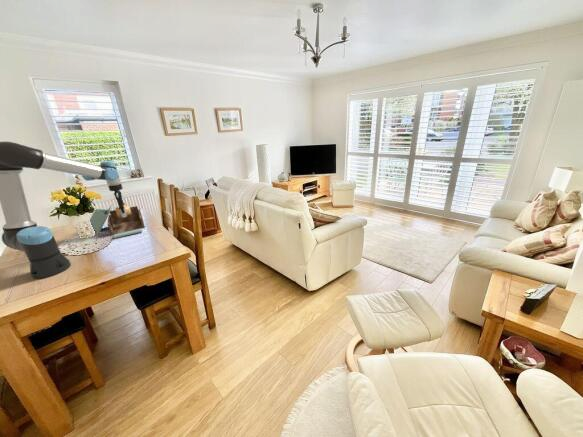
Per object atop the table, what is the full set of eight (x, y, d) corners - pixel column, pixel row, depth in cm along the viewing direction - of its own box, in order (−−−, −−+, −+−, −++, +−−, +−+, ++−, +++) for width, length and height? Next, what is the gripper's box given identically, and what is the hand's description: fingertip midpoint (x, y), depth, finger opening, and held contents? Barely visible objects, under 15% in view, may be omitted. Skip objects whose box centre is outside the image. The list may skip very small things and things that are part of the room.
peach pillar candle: (118, 218, 166) (115, 209, 163) (118, 215, 172) (115, 206, 169) (131, 215, 170) (128, 206, 167) (131, 212, 176) (128, 203, 173)
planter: (87, 222, 175) (100, 198, 174) (100, 225, 180) (112, 202, 180) (85, 229, 162) (98, 203, 162) (99, 233, 167) (112, 208, 167)
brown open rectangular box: (111, 236, 161) (105, 220, 156) (112, 226, 178) (107, 211, 173) (145, 229, 171) (140, 213, 166) (143, 220, 188) (138, 205, 183)
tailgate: (115, 235, 161) (114, 238, 154) (114, 234, 161) (113, 236, 154) (142, 229, 169) (142, 231, 163) (141, 228, 169) (141, 230, 162)
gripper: (121, 186, 156) (131, 218, 165) (121, 180, 172) (130, 210, 180) (107, 188, 152) (118, 220, 161) (108, 182, 168) (118, 212, 177)
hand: (124, 215), depth 171 cm, fingers closed on peach pillar candle, 7 cm apart
